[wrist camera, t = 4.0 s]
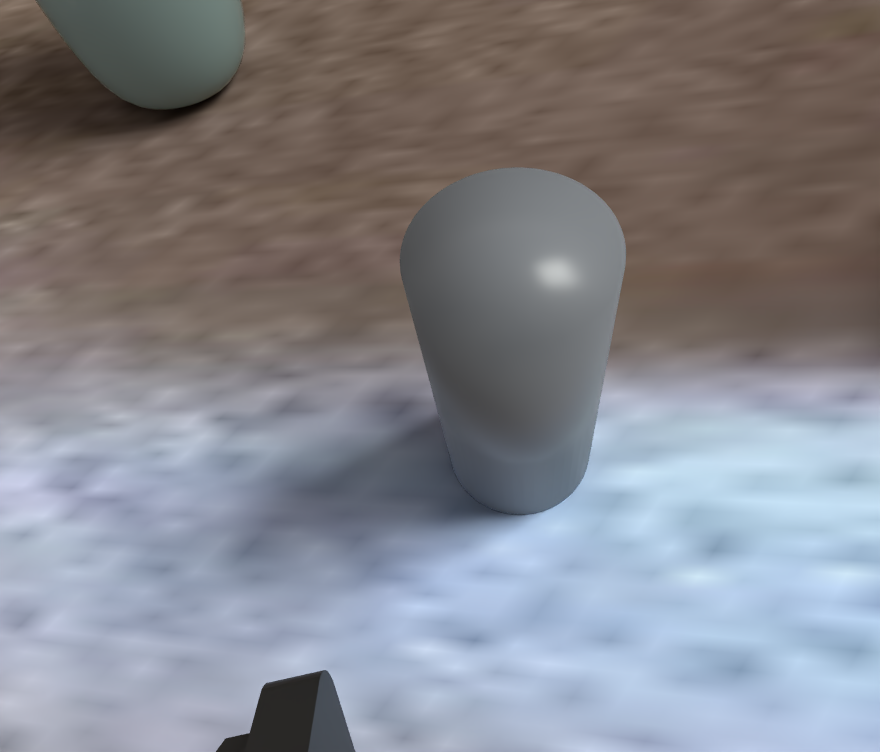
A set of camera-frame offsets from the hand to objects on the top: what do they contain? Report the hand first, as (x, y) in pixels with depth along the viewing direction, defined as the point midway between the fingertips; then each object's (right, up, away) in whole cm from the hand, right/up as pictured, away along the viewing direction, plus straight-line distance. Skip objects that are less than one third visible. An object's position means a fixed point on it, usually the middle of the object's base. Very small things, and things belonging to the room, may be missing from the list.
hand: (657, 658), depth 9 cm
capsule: (0, +1, +14) cm, 14 cm away
